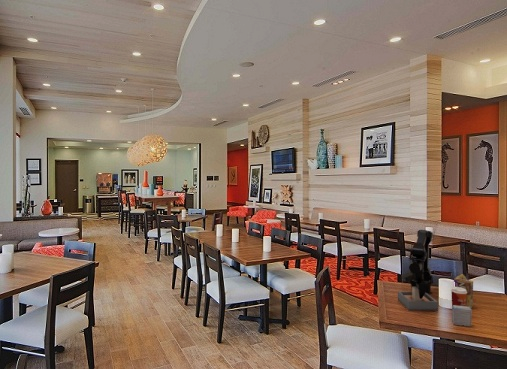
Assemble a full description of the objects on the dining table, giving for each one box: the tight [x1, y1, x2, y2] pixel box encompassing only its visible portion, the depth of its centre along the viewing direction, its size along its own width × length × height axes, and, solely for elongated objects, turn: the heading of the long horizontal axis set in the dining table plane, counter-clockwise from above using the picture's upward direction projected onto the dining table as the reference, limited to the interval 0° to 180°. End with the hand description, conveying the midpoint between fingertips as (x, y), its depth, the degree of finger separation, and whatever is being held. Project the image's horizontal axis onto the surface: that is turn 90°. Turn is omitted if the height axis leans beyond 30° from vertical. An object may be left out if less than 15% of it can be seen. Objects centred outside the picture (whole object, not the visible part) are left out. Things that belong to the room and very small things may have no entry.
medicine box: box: [451, 304, 473, 327], centre depth 176 cm, size 8×4×9 cm, turn 71°
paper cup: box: [450, 286, 467, 306], centre depth 188 cm, size 8×8×14 cm
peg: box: [411, 287, 422, 301], centre depth 200 cm, size 4×4×9 cm
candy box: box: [453, 277, 474, 309], centre depth 199 cm, size 9×4×15 cm, turn 39°
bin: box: [397, 290, 439, 312], centre depth 200 cm, size 16×16×5 cm
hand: (417, 295), depth 200 cm, fingers open, 9 cm apart
